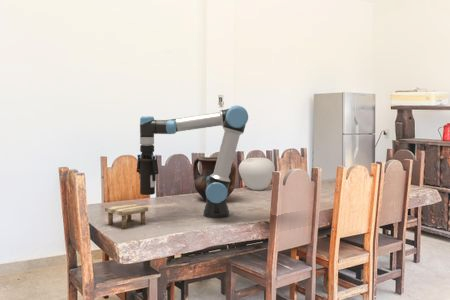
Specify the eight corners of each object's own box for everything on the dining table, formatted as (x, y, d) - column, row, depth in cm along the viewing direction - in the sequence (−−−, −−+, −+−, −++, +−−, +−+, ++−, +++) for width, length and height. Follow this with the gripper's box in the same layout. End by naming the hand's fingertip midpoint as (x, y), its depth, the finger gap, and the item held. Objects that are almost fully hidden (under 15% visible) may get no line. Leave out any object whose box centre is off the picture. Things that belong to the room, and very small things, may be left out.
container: (156, 192, 246) (156, 156, 244) (154, 195, 237) (154, 158, 235) (140, 192, 245) (140, 156, 244) (138, 195, 236) (138, 158, 235)
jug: (241, 197, 312) (242, 155, 309) (232, 205, 284) (232, 159, 282) (198, 195, 319) (198, 154, 317) (185, 202, 292) (185, 158, 290)
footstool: (148, 223, 235) (148, 207, 234) (123, 229, 223) (123, 212, 222) (129, 219, 245) (129, 203, 244) (105, 224, 233) (105, 207, 232)
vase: (257, 185, 367) (257, 156, 365) (281, 189, 347) (281, 158, 345) (232, 188, 349) (232, 158, 347) (255, 193, 329) (256, 160, 327)
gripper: (165, 145, 235) (165, 187, 237) (140, 143, 248) (140, 183, 250) (154, 146, 230) (155, 189, 231) (129, 144, 243) (129, 185, 244)
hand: (147, 186), depth 241 cm, fingers closed on container, 8 cm apart
